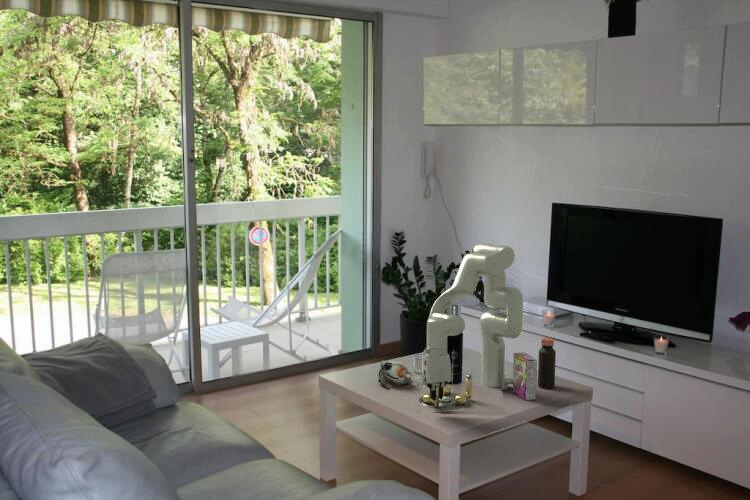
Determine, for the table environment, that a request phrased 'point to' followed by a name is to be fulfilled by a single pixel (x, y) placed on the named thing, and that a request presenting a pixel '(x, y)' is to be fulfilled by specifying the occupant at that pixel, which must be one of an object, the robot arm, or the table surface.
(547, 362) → the bottle
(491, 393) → the table surface
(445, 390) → the gold u-shaped piece
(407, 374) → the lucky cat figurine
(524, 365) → the candy bar box
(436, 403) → the gold l-shaped fitting
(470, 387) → the gold bent piece
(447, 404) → the tribrach plate
